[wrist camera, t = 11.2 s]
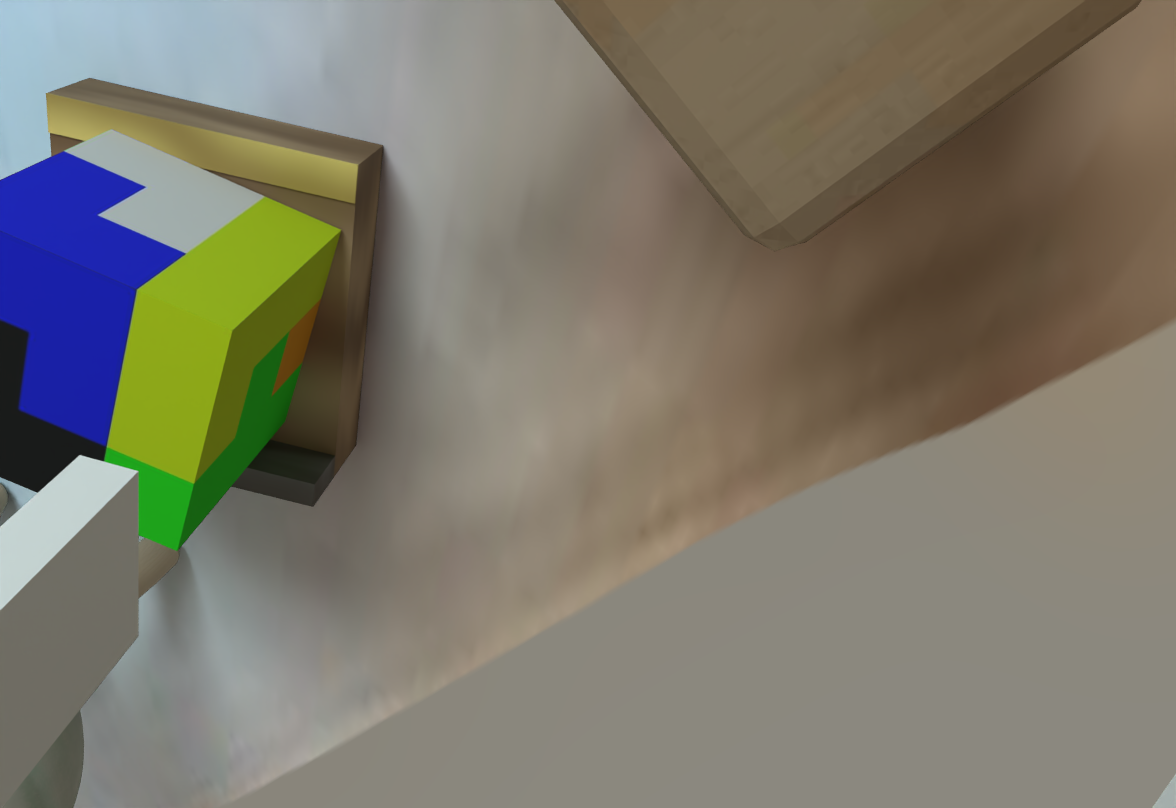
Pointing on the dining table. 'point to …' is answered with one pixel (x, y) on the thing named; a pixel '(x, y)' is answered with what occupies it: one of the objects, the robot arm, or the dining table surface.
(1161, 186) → the dining table surface
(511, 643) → the dining table surface
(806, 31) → the wooden block
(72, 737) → the planter
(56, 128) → the dock
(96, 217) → the puzzle toy
